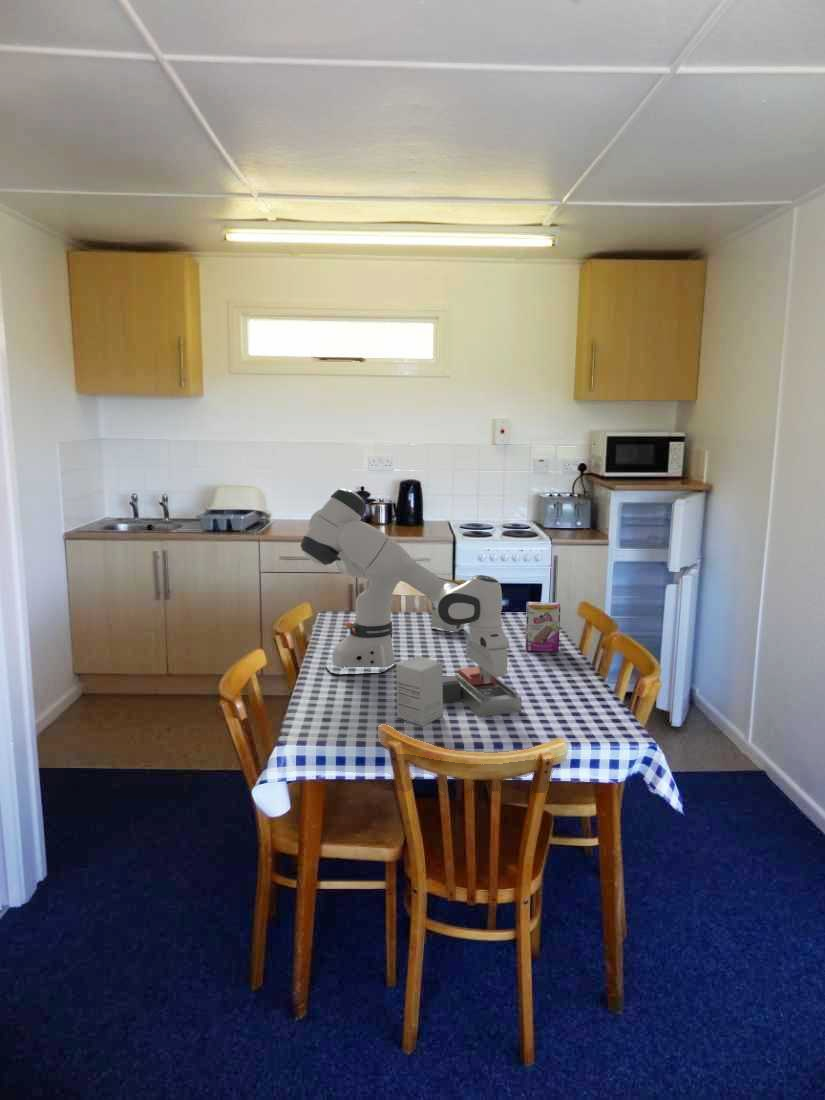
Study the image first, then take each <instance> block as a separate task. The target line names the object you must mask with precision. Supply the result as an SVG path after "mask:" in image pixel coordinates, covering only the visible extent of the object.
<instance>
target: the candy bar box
mask: <svg viewBox="0 0 825 1100" xmlns="http://www.w3.org/2000/svg"><path fill="white" fill-rule="evenodd" d="M525 613H526V615H525V617H526V618H525V643H524V645H525V646H524V647H525V651H526V652H528V653H529V652H532V653H533V652H534V653H559V648H560V647H559V646H560V627H561V623H560V622H561V604H560V603H559V602H545V601H541V602H540V601H527V602H526V612H525Z"/></svg>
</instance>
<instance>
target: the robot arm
mask: <svg viewBox="0 0 825 1100" xmlns="http://www.w3.org/2000/svg"><path fill="white" fill-rule="evenodd" d="M366 513H367V504H366V502H365V501H364V499H363V498H362V497H361V496H360V495H359V494H358V493H357V492H356V491H353V490H351V489H350V490H349V489H347V488H339V489H337V490H335V491H334V492H333V493H332V494H331V495H330V498H329V500H327V502H326V503H325V504H324V505H323V507H322V508H320V509H318V510H316V511H315V512H314V513H313V514H312V515H311V517H310V519H309V523H308V531H307V533H306V534H305V535H304V536H303V538H302V540H301V543H300V549H301V551H302V552H303V553H304V555H305V557H306V558H307V559H308V560H310V561H311V562H313V563H315V564H318V565H324V566H327V565H331V564H333V563H335V565H336V568H337V569H338V571H339V572H340V573H341V574H343V575H346V576H349V577H352V578H356V579H357V578H358V579H364V580H368V584H367V585H368V586H367V588H366V590H364V591H362V592H361V593H360V594H358V595H357V597H356V598H355V622H353V623H352V622H351V621H347V622H346V623H345V627H346V628H347V629H348V630H349V634H348V635H347V636H346V637H345V638H343V639H342V640H341V641H339V642H338V643H337V644H336V645H335V646H334V648H333V651H332V652H333V653H332V657H331V659H332V662H333V664H334V665H336V666H337V667H341V668H344V667H346V668H348V667H388V666H390V665H392V664H394V663H395V661H396V658H395V654H394V649H393V640H392V639H393V634H394V633H393V621H392V620H391V618H392V617H391V613H392V612H391V611H392V610H391V609H392V597H393V593H394V591H395V589H396V588H397V586H398V584H399V583H400V582H404V583H405V584H407V585H409V586H410V587H412V588H414V589H415V590H417V591H418V592H420V593H421V594H423V595H424V596H426V598H428V600H429V601H430V602H432V604H433V606H434V607H435V609H436V610H437V612H438V614H439V616H440V618H441V619H442V620H443V621H444V622H445V623H447V624H449V625H461V624H464V625H466V624H469V633H468V634H467V636H466V648H465V653H466V656H467V658H469V659H470V660H471V661H473V663H475V664H476V665H477V667H478V669H479V672H480V680H481V681H482V682H484V683H485V684H488V683H490V677H491V675H492V676H493V677H497V678H498V677H505V676H506V673H507V672H508V655H509V654H508V650H507V648H509V645H510V641H509V639H508V637H507V636H506V633H505V632H504V629H503V627H502V626H503V625H502V624H503V621H502V618H501V614H502V610H503V594H502V593H503V592H502V586H501V583H500V582H499V581H498V580H497V579H495V578H494V577H492V576H488V575H484V574H476V575H473V576H472V577H471V578H470V579H468V580H467V581H466V582H464V583H462V584H461V583H459V582H458V581H456V580H452V579H451V580H450V579H446V578H442V577H439V576H437V575H436V574H434V573H433V572H431V571H430V570H428V569H426V568H425V567H424V566H422V565H421V564H420V563H417V562H416V561H415V559H413V558H412V556H411V555H410V554H409V553H408V552H407V551H406V550H405V548H404V547H402V545H400V543H398V542H397V541H396V540H394V539H393V538H392V537H390V536H389V535H388V534H386V533H385V532H384V531H381V530H380V529H378V528H377V527H374V526H373V525H371V524H369V523H367V522H364V521H362V519H364V517H365V514H366Z"/></svg>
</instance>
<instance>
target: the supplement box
mask: <svg viewBox="0 0 825 1100" xmlns="http://www.w3.org/2000/svg"><path fill="white" fill-rule="evenodd" d="M395 667H396V717H398V718H401V719H404V720H407V721H406V722H408V721H410V722H409V723H411V722H412V724H414V723H415V725H417V724H418V726H420V727H424V726H426V725H428V724H429V723H431V722H434V721H436V720H438V719H439V718H442V717H443V716H444V703H443V677H444V675H443V662H442V661H436V660H433V659H428V658H425V657H422V656H415V657H412V658H410V659H408V660H404V661H403V662H400V663H396V665H395ZM398 718H397V719H398ZM401 719H400V720H401ZM404 720H403V721H404Z"/></svg>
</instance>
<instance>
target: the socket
mask: <svg viewBox="0 0 825 1100" xmlns="http://www.w3.org/2000/svg"><path fill="white" fill-rule="evenodd" d="M454 677H455V678H457V679H458V680H459V683H460V684H461V701H462V702H463V703H464V704H465V705H466V706H467V707H469V709H471V711H473V712H474V713H475V714H476V715H477V716H478V717H479V718H482V717H490V716H496V715H505V714H512V713H518V712H522V696H520V694H518V692H517V691H516V690H515V689H513V688H512V687H511V686H508V684H507V683H505V682H504V681H503V680H501V679H500V678H498V677H495V683H488V684H480V685H471V684H470V683H469V682H468V681H466V680H465V679H464V678H463V677H462V676H460V675H459V672H458V673H455V675H454Z"/></svg>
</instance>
